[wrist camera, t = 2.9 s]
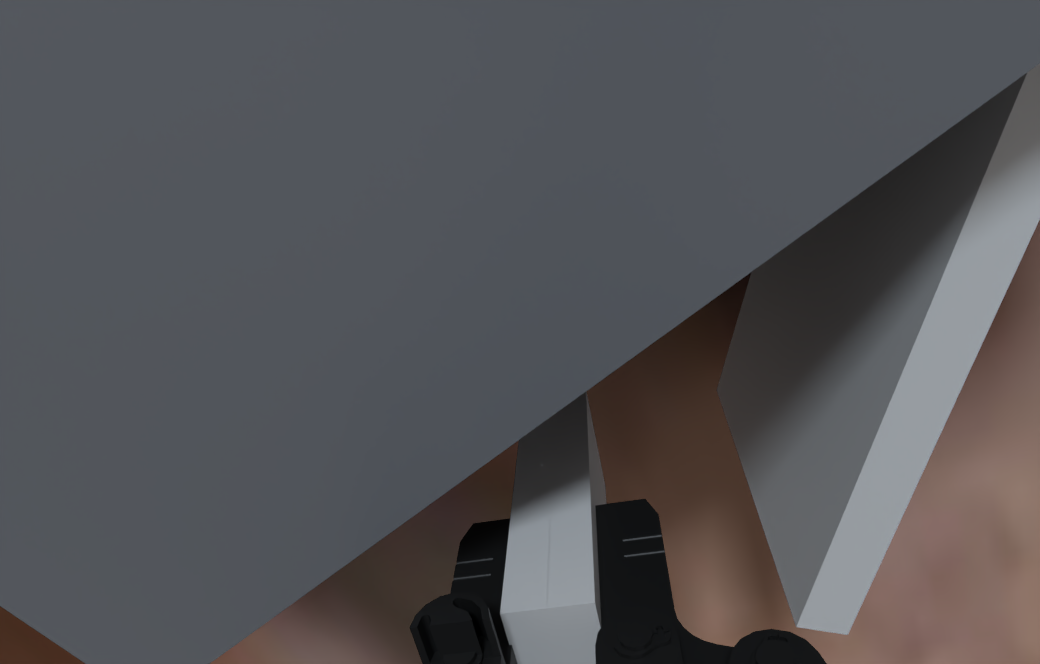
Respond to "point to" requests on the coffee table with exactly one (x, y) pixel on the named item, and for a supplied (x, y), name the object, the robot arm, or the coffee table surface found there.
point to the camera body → (384, 255)
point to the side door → (875, 348)
